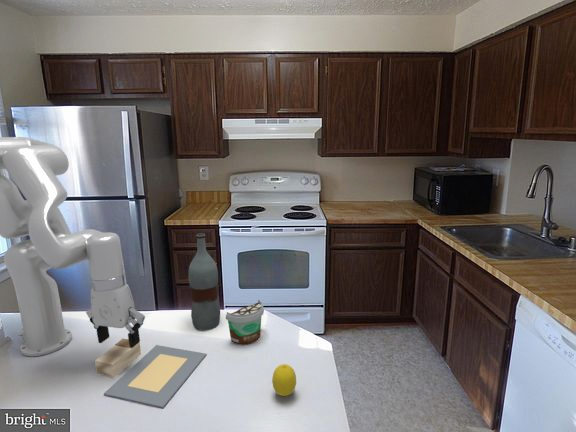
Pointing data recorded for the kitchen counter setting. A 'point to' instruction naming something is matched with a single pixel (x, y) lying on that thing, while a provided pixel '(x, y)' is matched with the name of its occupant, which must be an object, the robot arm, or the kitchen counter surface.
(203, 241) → the bottle
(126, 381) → the mat
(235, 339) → the food container
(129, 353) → the birch block
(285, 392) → the lemon
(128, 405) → the kitchen counter surface
